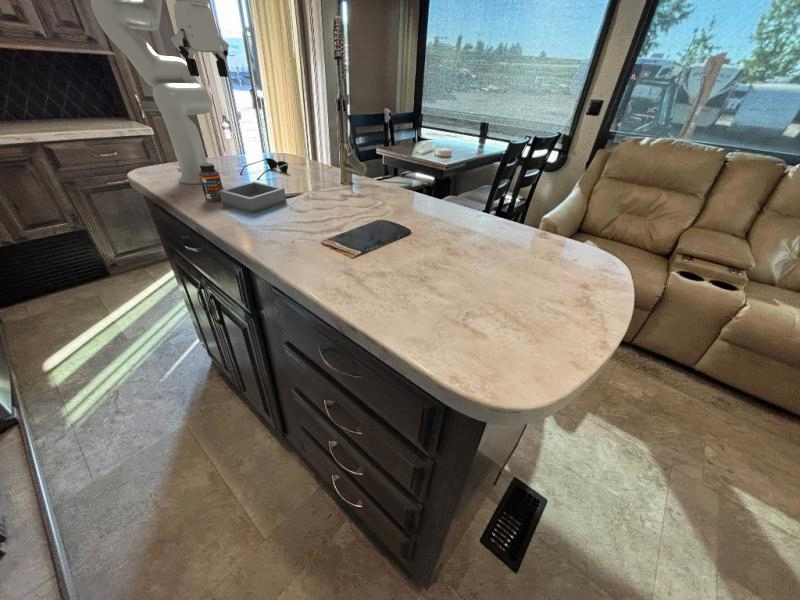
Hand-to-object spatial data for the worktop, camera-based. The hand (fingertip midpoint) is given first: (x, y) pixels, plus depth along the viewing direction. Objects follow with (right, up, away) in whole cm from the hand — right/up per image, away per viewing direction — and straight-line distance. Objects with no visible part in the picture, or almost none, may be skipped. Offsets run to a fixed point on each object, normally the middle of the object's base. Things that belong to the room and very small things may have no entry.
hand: (209, 76), depth 97 cm
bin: (+8, -34, +12) cm, 37 cm away
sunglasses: (-1, -13, +42) cm, 44 cm away
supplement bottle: (-6, -33, +13) cm, 36 cm away
